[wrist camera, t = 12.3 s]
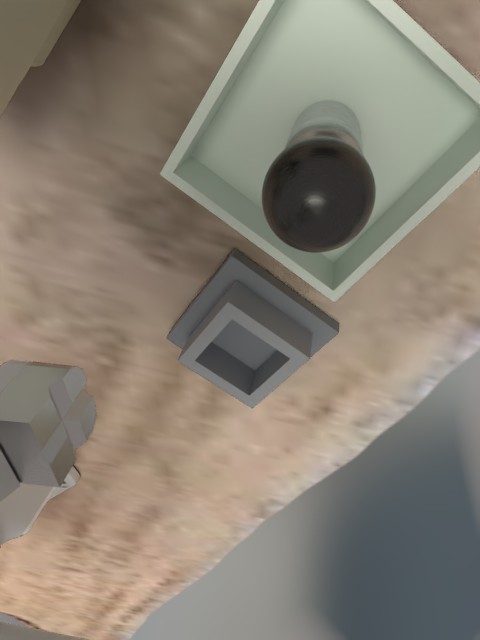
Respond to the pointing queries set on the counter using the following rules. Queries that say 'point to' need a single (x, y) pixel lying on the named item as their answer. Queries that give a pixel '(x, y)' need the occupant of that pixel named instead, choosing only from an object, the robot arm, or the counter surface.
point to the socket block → (249, 331)
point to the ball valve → (28, 38)
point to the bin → (355, 92)
